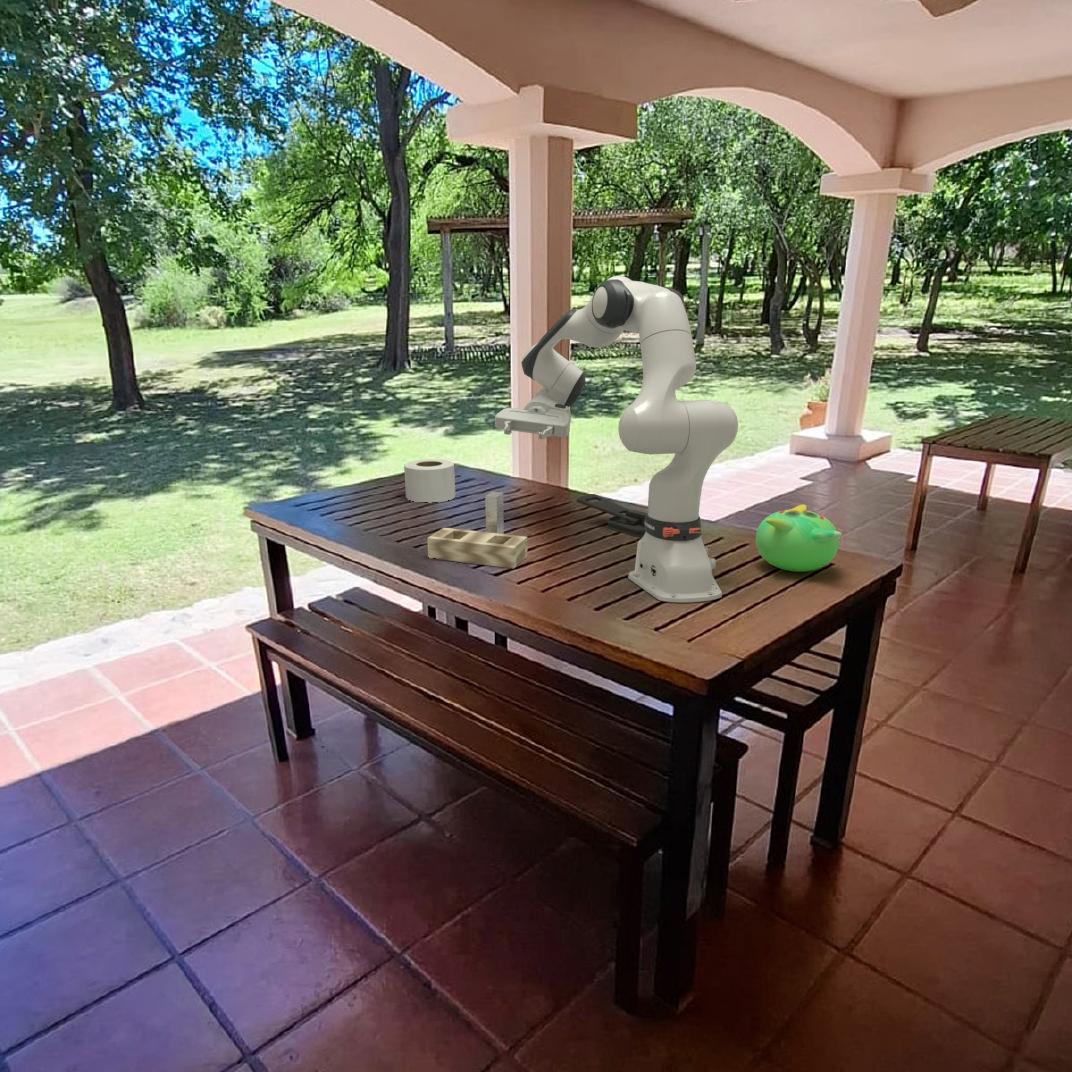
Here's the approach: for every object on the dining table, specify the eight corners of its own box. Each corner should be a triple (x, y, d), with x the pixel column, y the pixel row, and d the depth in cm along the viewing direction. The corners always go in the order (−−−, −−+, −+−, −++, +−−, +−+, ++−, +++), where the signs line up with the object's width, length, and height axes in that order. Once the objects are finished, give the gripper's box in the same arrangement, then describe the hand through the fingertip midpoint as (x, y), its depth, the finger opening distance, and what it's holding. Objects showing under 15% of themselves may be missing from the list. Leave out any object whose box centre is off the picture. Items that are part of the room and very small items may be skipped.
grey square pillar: (503, 542, 190) (503, 492, 186) (497, 547, 186) (496, 496, 182) (492, 540, 191) (492, 491, 187) (486, 545, 187) (485, 495, 183)
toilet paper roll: (396, 500, 229) (394, 466, 226) (422, 489, 243) (420, 457, 240) (440, 505, 223) (438, 470, 220) (464, 494, 237) (463, 461, 234)
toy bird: (831, 561, 177) (839, 501, 172) (838, 586, 161) (847, 521, 157) (752, 554, 181) (758, 496, 177) (752, 578, 166) (759, 514, 161)
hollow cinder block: (527, 556, 179) (527, 536, 177) (514, 568, 171) (513, 547, 169) (444, 546, 186) (443, 527, 184) (428, 557, 178) (427, 537, 176)
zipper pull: (593, 492, 213) (666, 508, 197) (592, 514, 215) (665, 532, 199) (573, 498, 207) (647, 515, 190) (572, 520, 209) (646, 539, 192)
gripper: (503, 399, 204) (485, 418, 193) (575, 407, 198) (561, 427, 187) (504, 420, 207) (486, 440, 196) (575, 429, 202) (560, 450, 191)
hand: (523, 434), depth 192 cm, fingers open, 8 cm apart
